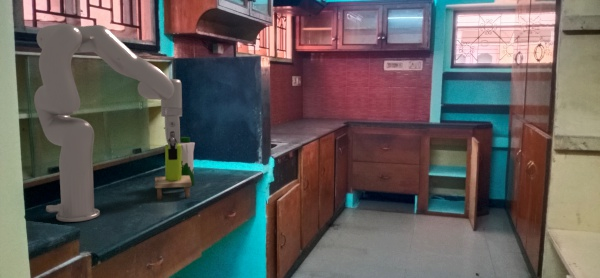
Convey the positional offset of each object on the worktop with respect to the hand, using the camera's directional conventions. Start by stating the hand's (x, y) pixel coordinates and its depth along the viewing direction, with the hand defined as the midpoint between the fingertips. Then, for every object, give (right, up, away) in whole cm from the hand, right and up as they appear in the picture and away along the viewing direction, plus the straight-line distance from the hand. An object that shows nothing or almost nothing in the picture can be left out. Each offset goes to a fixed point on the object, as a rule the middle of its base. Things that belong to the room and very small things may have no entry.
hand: (172, 157), depth 180 cm
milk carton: (-1, -13, +17) cm, 21 cm away
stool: (0, -14, +2) cm, 14 cm away
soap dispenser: (0, -9, +1) cm, 9 cm away
